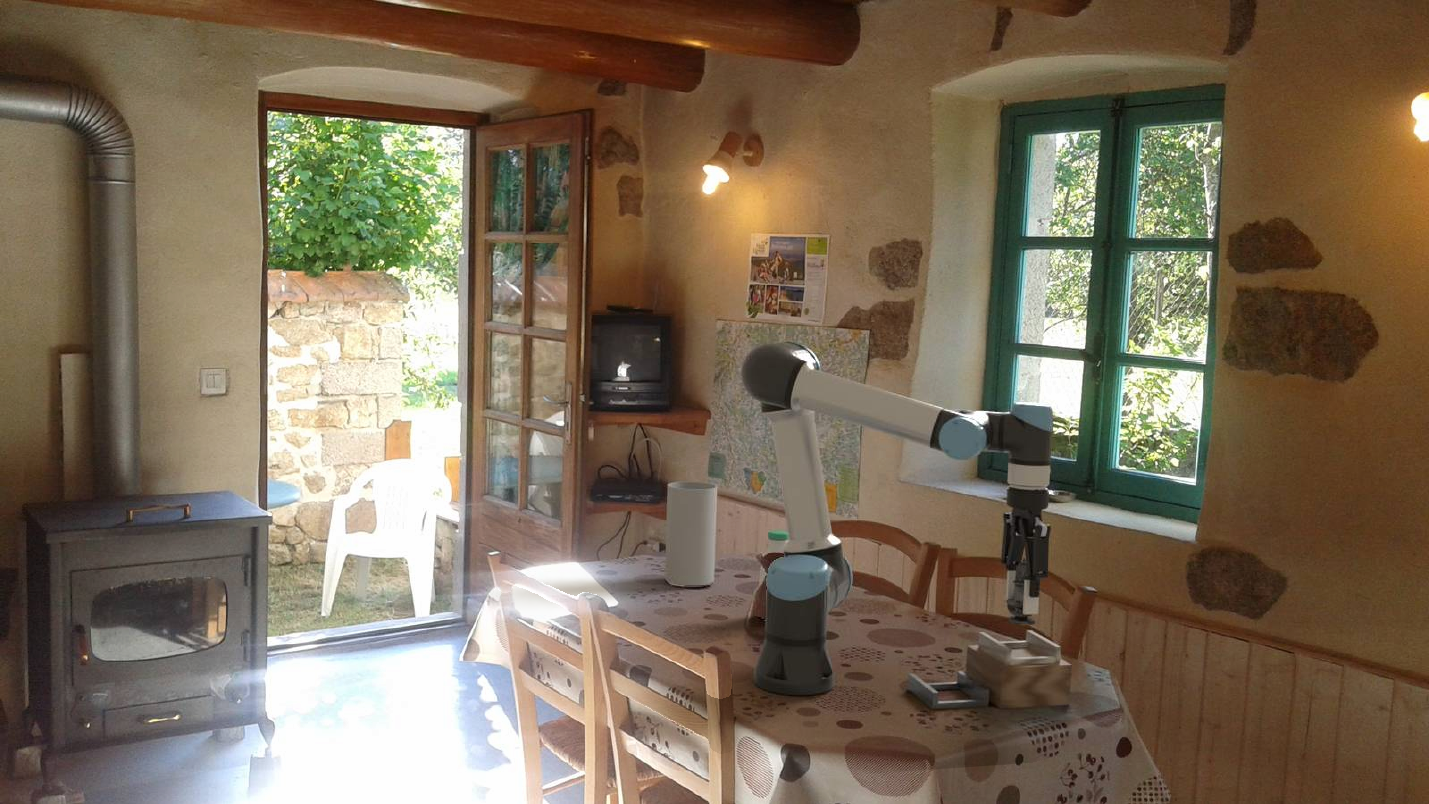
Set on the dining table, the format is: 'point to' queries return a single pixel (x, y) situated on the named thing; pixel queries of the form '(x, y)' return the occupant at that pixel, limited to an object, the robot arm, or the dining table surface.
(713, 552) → the cylinder vase
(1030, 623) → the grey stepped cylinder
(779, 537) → the milk bottle
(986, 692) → the low socket
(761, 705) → the dining table surface
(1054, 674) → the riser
